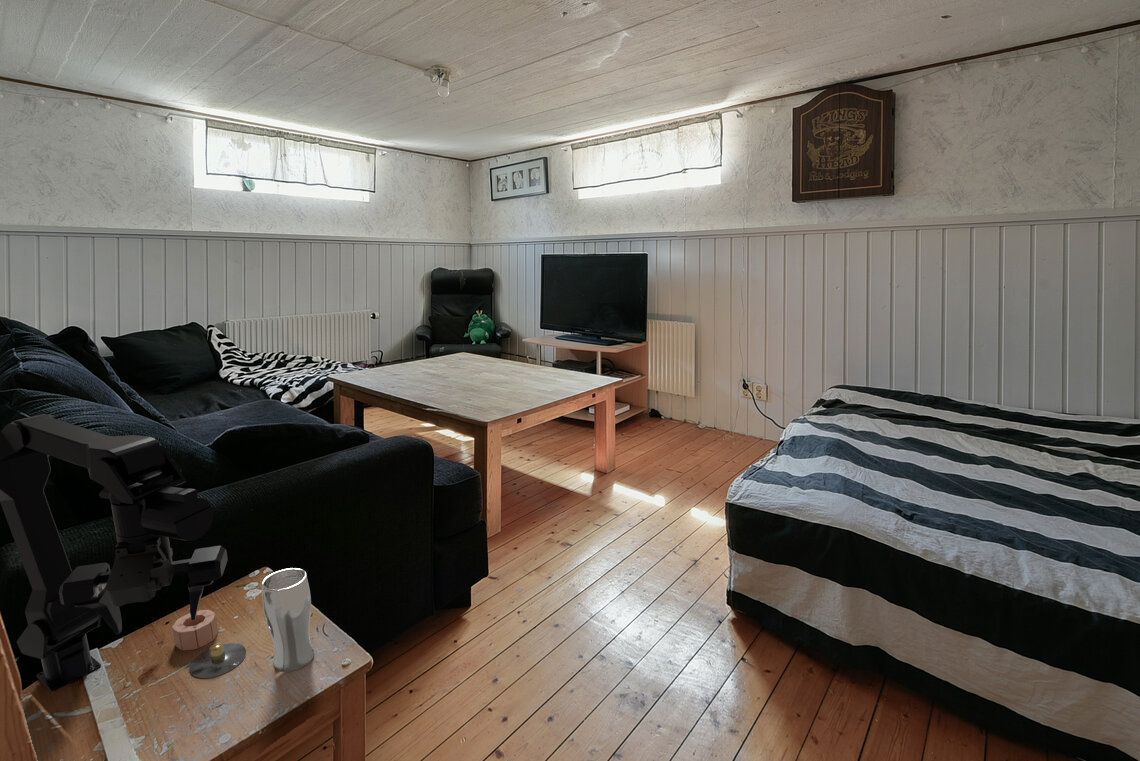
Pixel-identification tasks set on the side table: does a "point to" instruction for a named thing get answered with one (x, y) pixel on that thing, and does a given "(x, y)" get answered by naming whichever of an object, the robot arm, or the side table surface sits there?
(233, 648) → the hub
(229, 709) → the side table surface
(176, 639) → the octagonal hollow tube
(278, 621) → the beer glass
